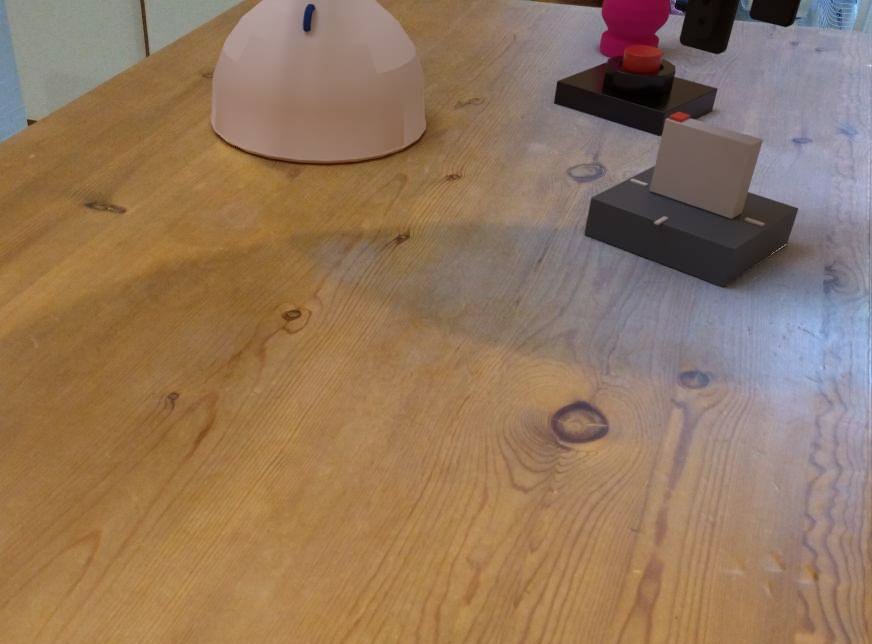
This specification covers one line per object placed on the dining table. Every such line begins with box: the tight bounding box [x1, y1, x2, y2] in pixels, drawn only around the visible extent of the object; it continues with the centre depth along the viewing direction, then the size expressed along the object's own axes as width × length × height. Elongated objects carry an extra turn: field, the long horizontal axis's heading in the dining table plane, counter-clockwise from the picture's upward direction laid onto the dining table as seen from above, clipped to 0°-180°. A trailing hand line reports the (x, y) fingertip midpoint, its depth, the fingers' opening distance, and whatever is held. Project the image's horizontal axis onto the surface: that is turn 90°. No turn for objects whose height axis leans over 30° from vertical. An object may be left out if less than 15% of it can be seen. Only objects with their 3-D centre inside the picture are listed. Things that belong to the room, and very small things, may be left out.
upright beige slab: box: [650, 112, 764, 219], centre depth 78 cm, size 7×2×6 cm, turn 46°
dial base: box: [584, 165, 799, 288], centre depth 81 cm, size 12×11×3 cm
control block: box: [553, 55, 719, 137], centre depth 103 cm, size 12×10×4 cm
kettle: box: [209, 0, 427, 165], centre depth 94 cm, size 20×21×18 cm
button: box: [622, 45, 664, 73], centre depth 102 cm, size 4×4×2 cm
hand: (737, 35), depth 73 cm, fingers open, 9 cm apart
